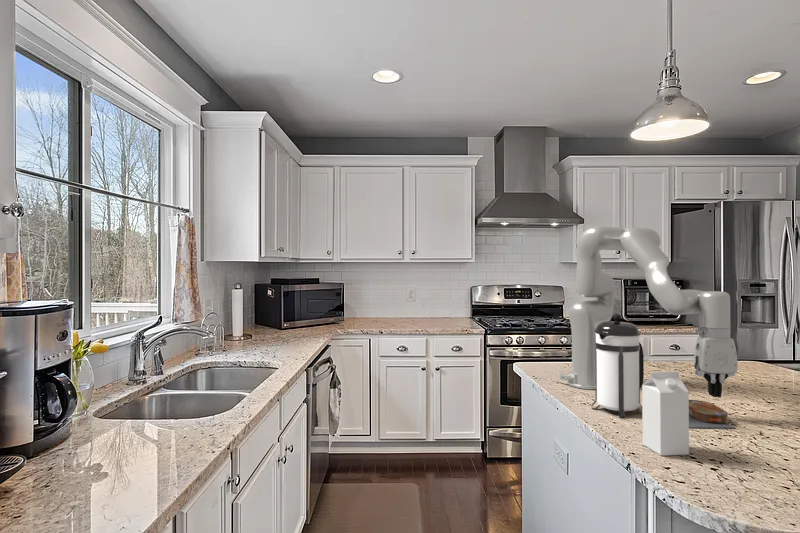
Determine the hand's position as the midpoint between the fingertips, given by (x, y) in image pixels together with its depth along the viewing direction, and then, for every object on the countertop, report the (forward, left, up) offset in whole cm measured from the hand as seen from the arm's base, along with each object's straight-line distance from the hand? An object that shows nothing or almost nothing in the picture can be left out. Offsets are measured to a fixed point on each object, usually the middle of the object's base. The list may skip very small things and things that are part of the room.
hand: (714, 395), depth 134 cm
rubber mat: (-6, 0, -6) cm, 9 cm away
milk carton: (-27, -24, -7) cm, 37 cm away
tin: (+2, 0, -5) cm, 5 cm away
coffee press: (-25, +7, -7) cm, 26 cm away
